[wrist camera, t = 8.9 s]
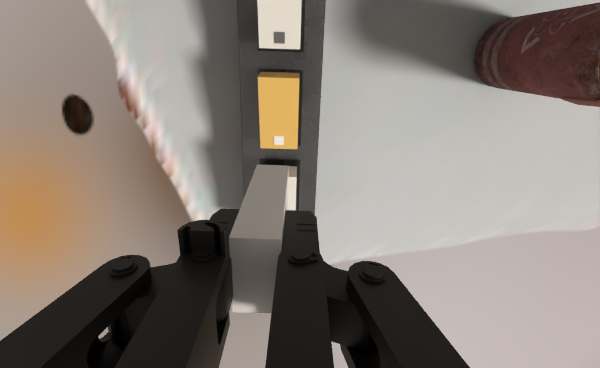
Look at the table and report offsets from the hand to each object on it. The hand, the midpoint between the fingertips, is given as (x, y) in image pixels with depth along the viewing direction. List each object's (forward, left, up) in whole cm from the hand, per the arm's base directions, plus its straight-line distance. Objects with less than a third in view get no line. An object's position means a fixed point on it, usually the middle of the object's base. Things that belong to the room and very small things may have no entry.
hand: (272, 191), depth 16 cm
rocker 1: (-10, 0, -13) cm, 16 cm away
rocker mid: (-2, 0, -13) cm, 13 cm away
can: (-7, +21, -19) cm, 29 cm away
